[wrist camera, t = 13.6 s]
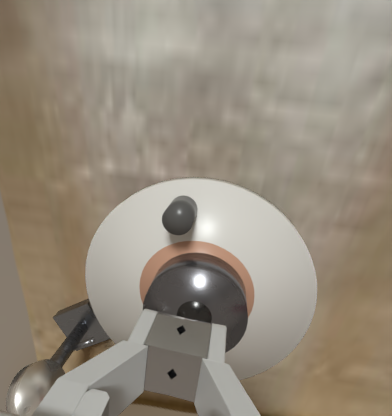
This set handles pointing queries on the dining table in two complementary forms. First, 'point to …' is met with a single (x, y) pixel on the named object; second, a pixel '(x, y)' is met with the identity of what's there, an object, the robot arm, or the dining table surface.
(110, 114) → the dining table surface
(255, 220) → the turntable
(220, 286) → the cover
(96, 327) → the dial gauge stand
